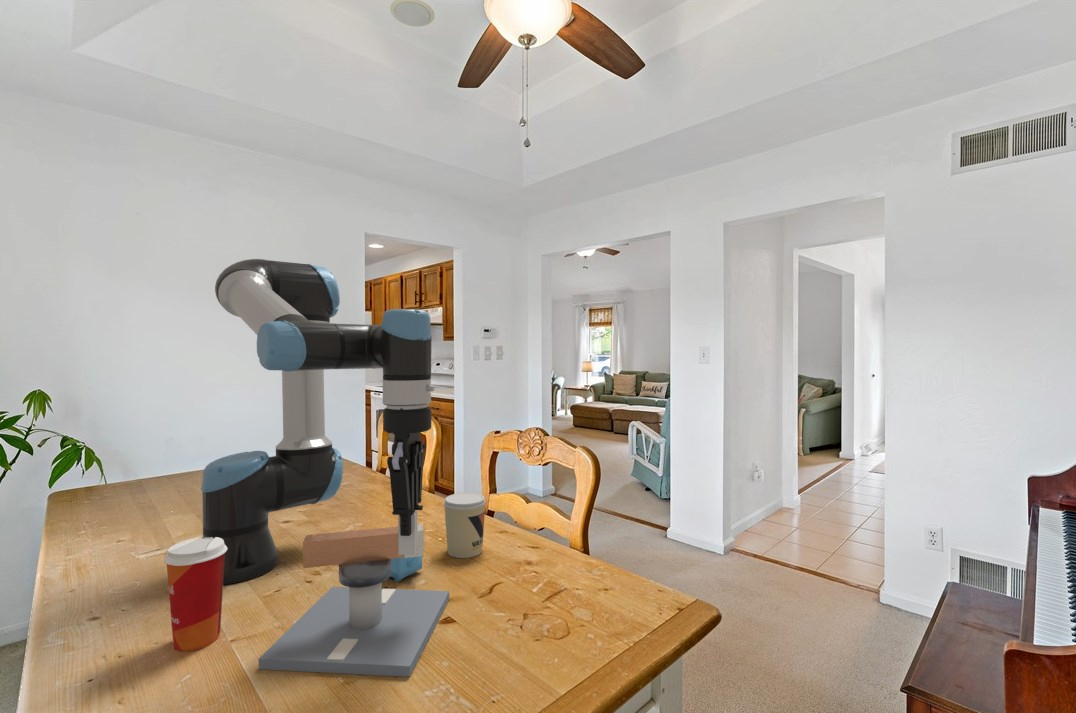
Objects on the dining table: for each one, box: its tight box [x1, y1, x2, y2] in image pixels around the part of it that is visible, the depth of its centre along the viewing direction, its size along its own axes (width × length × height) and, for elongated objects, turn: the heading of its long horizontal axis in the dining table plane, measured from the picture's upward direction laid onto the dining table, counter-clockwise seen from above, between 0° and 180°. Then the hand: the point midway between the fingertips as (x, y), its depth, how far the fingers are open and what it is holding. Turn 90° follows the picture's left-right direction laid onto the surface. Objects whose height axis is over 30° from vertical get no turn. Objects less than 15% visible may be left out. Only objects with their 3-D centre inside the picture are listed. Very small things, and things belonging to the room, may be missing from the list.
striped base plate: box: [258, 582, 450, 678], centre depth 82 cm, size 22×22×8 cm
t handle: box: [302, 523, 425, 588], centre depth 82 cm, size 18×8×7 cm, turn 106°
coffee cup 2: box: [443, 492, 487, 559], centre depth 115 cm, size 9×9×12 cm
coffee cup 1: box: [163, 537, 227, 652], centre depth 79 cm, size 8×8×15 cm
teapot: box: [389, 556, 423, 582], centre depth 102 cm, size 12×6×8 cm, turn 58°
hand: (408, 553), depth 82 cm, fingers closed
